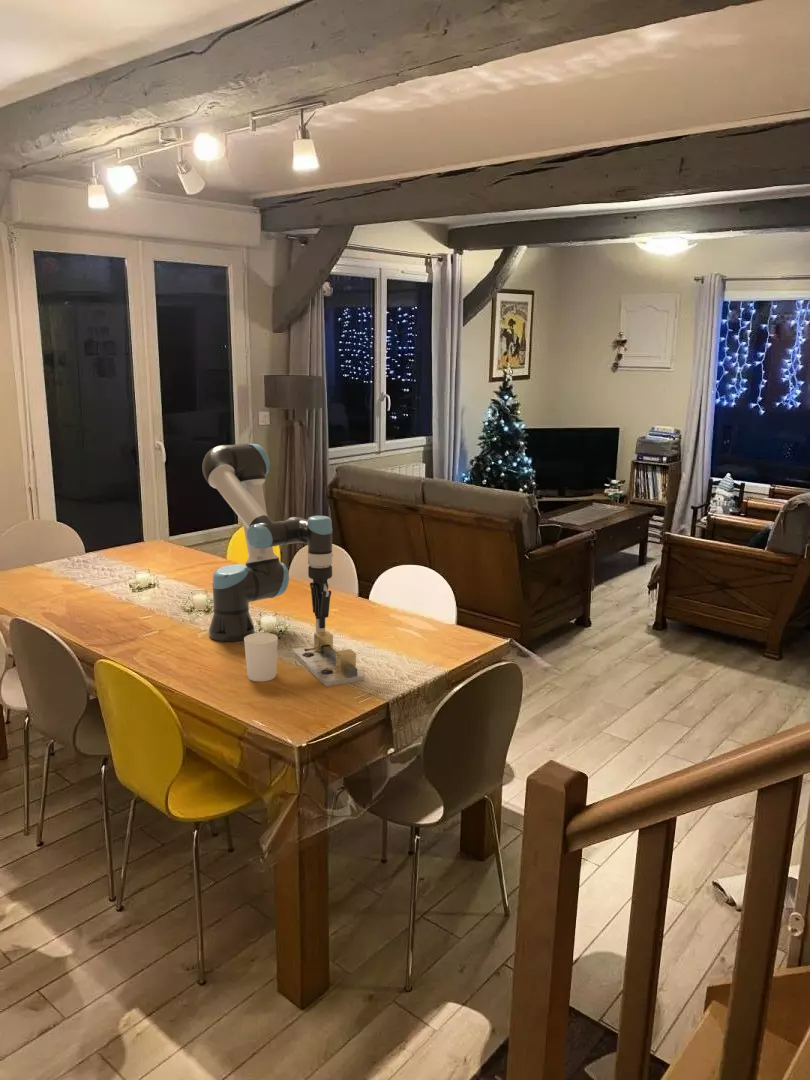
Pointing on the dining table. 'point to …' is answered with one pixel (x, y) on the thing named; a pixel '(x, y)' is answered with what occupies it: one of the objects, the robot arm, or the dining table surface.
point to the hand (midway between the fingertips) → (320, 636)
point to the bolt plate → (330, 664)
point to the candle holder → (261, 656)
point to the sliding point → (321, 640)
